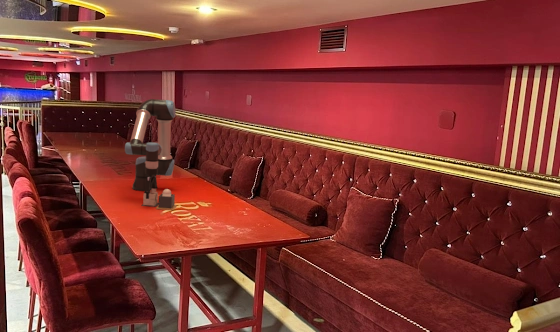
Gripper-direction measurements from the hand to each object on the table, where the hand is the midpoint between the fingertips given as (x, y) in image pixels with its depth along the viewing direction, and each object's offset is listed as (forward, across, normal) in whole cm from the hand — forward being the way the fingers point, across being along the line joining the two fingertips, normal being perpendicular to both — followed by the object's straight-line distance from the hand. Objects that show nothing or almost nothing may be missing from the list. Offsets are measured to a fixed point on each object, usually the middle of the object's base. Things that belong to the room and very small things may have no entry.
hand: (150, 201), depth 294 cm
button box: (+2, +4, +11) cm, 12 cm away
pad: (+2, 0, 0) cm, 2 cm away
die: (+2, 0, 0) cm, 2 cm away
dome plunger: (0, +4, +11) cm, 12 cm away
